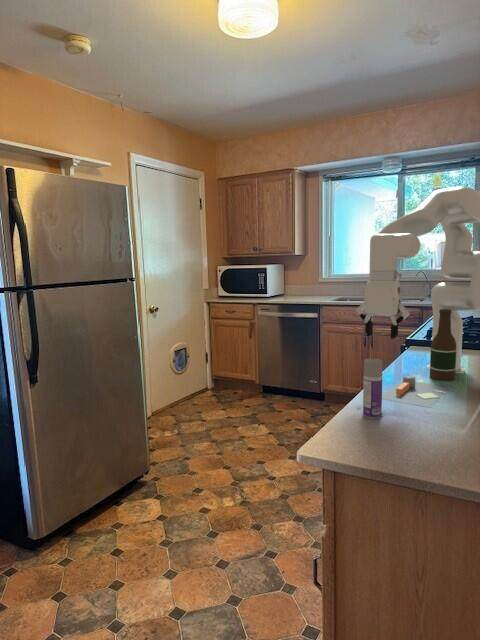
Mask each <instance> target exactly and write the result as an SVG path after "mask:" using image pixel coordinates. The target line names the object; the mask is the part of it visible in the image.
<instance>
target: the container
mask: <svg viewBox="0 0 480 640" xmlns="http://www.w3.org/2000/svg"><path fill="white" fill-rule="evenodd" d="M363 364H364V365H363V385H362V386H363V387H362V389H363V391H362V393H363V394H362V395H363V398H362V404H363V405H362V416H363V417H365V418H367V419H371V420H372V419H373V420H377V419H380V418H382V403H383V402H382V401H383V399H382V395H383V360H382V359H379V358H373V357H371V358H365V359H364V362H363Z"/></svg>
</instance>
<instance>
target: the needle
mask: <svg viewBox="0 0 480 640" xmlns="http://www.w3.org/2000/svg"><path fill="white" fill-rule="evenodd" d="M402 380H403V384H401V385H400V386H399V387H398V388H396V395H402V394H403V393H404V392H406V391H407V390H408V389H409V388H414V387H415V382H416V377H415V376H412V375H403V376H402Z"/></svg>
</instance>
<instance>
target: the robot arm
mask: <svg viewBox="0 0 480 640" xmlns="http://www.w3.org/2000/svg"><path fill="white" fill-rule="evenodd" d="M439 223H440V226H441V227H442V230H443V232H444V236H445V242H444V249H443V253H442V254H443V255H442V260H441V265H440V266H441V267H440V273H441V275H442V277H444V278H447V279H452V280H453V279H454V280H470V282H457V281H456V282H455V281H454V282H453V281H446V282H445V281H444V282H439V283H437V284H436V285H434V286H433V287H432V289H431V293H430V301H431V307H432V332H431V333H432V338H431V339H432V340H431V342H432V341H433V339H434V337H435V336H436V335H437V332H438V327H439V318H440V313H439V311H440V309H451V312H452V313H451V334H452V335H453V337H454V338H455V341H456V369H455V374H462V375H463V374H465V373H466V368H465V366H464V367H463V366H462V350H463V349H462V347H463V331H464V330H463V328H464V326H463V325H464V324H463V319H462V316H461V315H460V313H459V311H463V312H472V313H473V312H480V250H472V247H473V242H474V241H473V240H474V238H473V235H472V233H471V231H470V229H469V228H468V227H467V226H466V225H465V224H471V223H473V224H474V223H475V224H476V223H480V191H478V190H476V189H474V188H471V187H468V186H455V187H448V188H442V189H441V188H440V189H437V190H433V192H431V193H430V194H429V195H428V196H427V197H425V199H424V200H423V201H422V202H420V204H418V206H417V207H416V208H415V209H414V210H413V211H411V212H409V213H407V214H405V215H403V216H401V217H399V218H397V219H395V220H393V221H392V222H390V223H388V224H387V225H385V226H384V227H383V228H382V229H381V230H380V231H379V232H378V233H377V234H373V235H371V237H370V239H369V240H370V241H369V277H368V279H369V281H367V282H366V285H365V291H364V299H363V303H361V304H360V305H359V306H358V307H356V309H355V312H356V313H357V314H358V315H359V317H360V318H361V319H362V321H363V323H364V324H365V328H364V330H365V334H366V337H371V336H373V332H374V331H373V330H374V329H373V328H374V326H373V325H374V323H373V321H372V320H373V317H374V316H381V317H382V316H383V317H389V319H390V320H391V323H392V324H391V325H390V339H391V340H393V339H396V338H397V336H398V335H399V325H400V324H401V322H403V321H404V320H405V319H407V317H409V315H410V314H411V312H410V311H409V309H408V308H407V307H405V306H404V305H403V304H402V292H401V291H402V290H401V283H400V281H398V279H400V278H402V273H401V272H398V270H397V265H398V264H397V263H398V260H407V259H412V258H415V257H416V256H417V255H418V254H419V252H420V249H421V241H420V238H419V237H421V236H423V235H426V234H428V233H431V232H432V231H433V230H435V228H436V227H437V226H438V225H439ZM401 313H402V314H401ZM400 314H401V315H400ZM398 315H400V316H398ZM425 369H427V370H430V363H429V364H427V365H426V367H425Z"/></svg>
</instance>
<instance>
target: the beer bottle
mask: <svg viewBox="0 0 480 640" xmlns="http://www.w3.org/2000/svg"><path fill="white" fill-rule="evenodd" d="M439 313H440V318H439V327H438V332H437V335H436V336H435V337H434V339H433V341H432V340H431V345H430V360H429V364H430V369H429V378H430V379H432V380H435V381H440V382H441V381H442V382H452V381H454V380H455V378H456V373H455V369H456V341H455V338H454V337H453V335H452V334H451V313H452V312H451V309H440V311H439Z"/></svg>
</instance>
